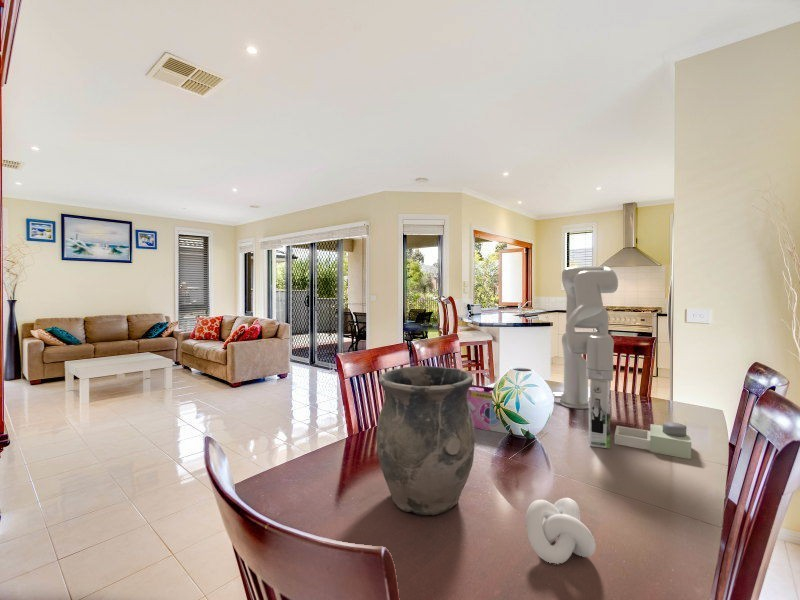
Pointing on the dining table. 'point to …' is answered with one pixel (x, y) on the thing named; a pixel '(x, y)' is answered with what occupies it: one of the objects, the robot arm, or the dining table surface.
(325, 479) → the dining table surface
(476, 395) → the pink product box
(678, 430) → the knob block with frame
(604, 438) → the syrup box
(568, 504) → the white knot sculpture
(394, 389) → the clay pot
